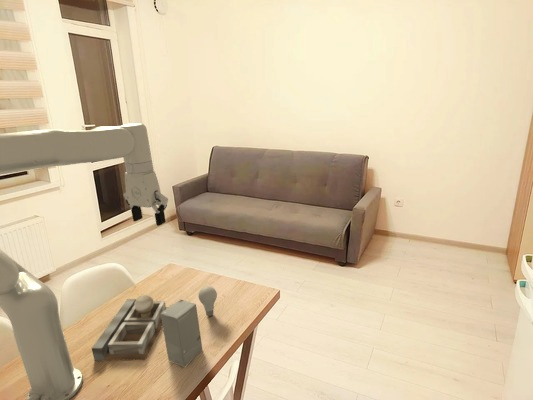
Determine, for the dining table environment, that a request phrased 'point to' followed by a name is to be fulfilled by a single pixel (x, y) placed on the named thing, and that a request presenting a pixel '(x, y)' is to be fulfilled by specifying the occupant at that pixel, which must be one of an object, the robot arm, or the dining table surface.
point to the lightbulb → (208, 299)
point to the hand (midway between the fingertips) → (149, 221)
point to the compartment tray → (131, 331)
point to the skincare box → (181, 332)
